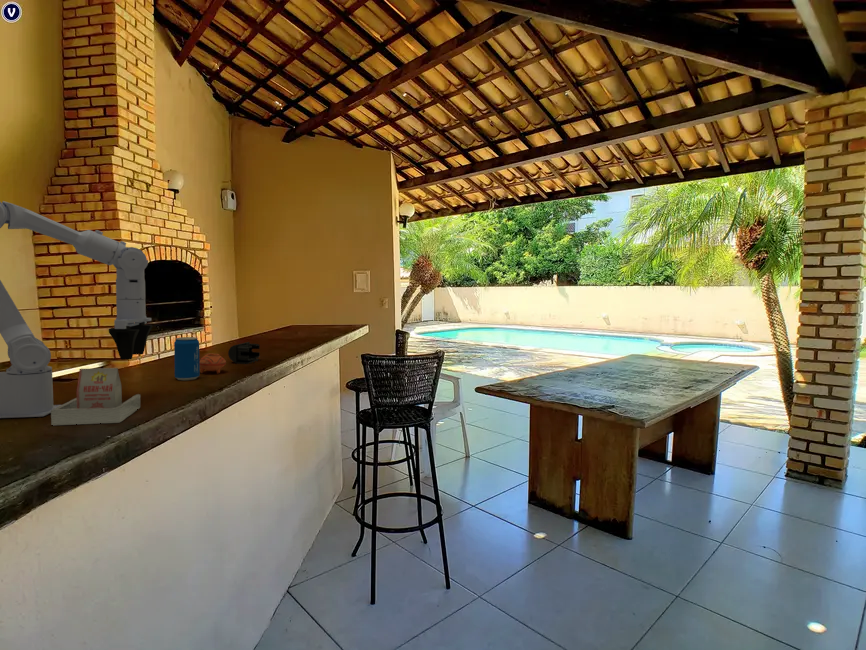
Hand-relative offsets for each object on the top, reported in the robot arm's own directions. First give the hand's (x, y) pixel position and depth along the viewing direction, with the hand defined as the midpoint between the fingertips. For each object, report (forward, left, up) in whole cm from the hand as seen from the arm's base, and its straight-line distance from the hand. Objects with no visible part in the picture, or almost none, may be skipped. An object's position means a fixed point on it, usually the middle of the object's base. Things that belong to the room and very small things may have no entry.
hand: (132, 356), depth 109 cm
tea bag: (-2, -13, -11) cm, 17 cm away
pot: (+11, +34, -11) cm, 37 cm away
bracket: (-2, -13, -10) cm, 17 cm away
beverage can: (+6, +25, -11) cm, 28 cm away
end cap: (+18, +55, -11) cm, 59 cm away
